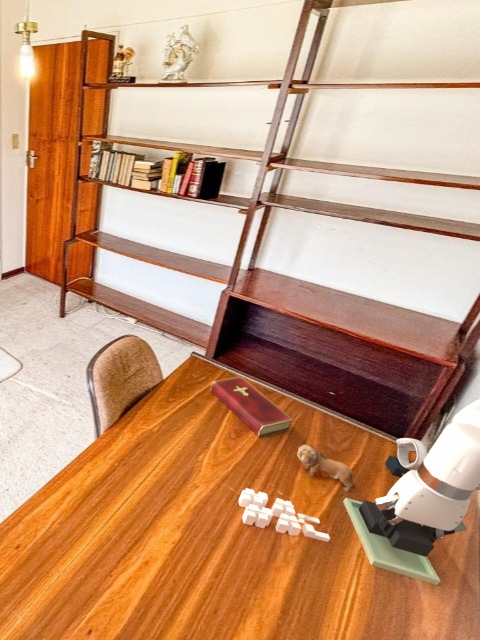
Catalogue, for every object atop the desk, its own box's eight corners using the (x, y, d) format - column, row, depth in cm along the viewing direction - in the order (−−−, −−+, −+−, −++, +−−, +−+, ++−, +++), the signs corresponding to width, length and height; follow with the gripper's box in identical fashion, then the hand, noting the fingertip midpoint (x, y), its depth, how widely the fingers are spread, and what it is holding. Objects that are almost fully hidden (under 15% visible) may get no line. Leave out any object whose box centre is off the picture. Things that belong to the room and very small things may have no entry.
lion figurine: (291, 476, 105) (303, 452, 101) (287, 461, 109) (298, 437, 105) (357, 496, 100) (372, 472, 96) (350, 479, 105) (364, 455, 101)
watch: (405, 464, 110) (424, 435, 105) (419, 488, 103) (440, 458, 98) (381, 458, 112) (398, 429, 107) (393, 481, 105) (412, 451, 100)
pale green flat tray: (398, 518, 95) (401, 512, 94) (436, 586, 82) (440, 581, 81) (342, 502, 98) (345, 497, 97) (370, 566, 85) (373, 560, 84)
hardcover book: (258, 437, 117) (262, 426, 115) (209, 390, 135) (212, 380, 133) (289, 429, 120) (293, 419, 118) (237, 385, 138) (241, 375, 136)
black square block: (387, 517, 95) (394, 507, 93) (400, 541, 89) (407, 531, 88) (358, 509, 96) (364, 499, 95) (369, 532, 91) (375, 522, 90)
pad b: (411, 530, 87) (418, 519, 85) (426, 557, 82) (434, 546, 80) (378, 521, 88) (385, 510, 87) (391, 547, 83) (399, 536, 82)
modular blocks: (243, 523, 92) (248, 512, 91) (237, 497, 98) (241, 486, 97) (339, 548, 88) (346, 537, 86) (326, 519, 94) (332, 508, 92)
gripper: (486, 477, 78) (441, 534, 86) (382, 452, 83) (348, 508, 90) (515, 511, 72) (463, 570, 79) (401, 481, 76) (362, 539, 84)
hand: (402, 536), depth 85 cm, fingers closed on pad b, 6 cm apart
